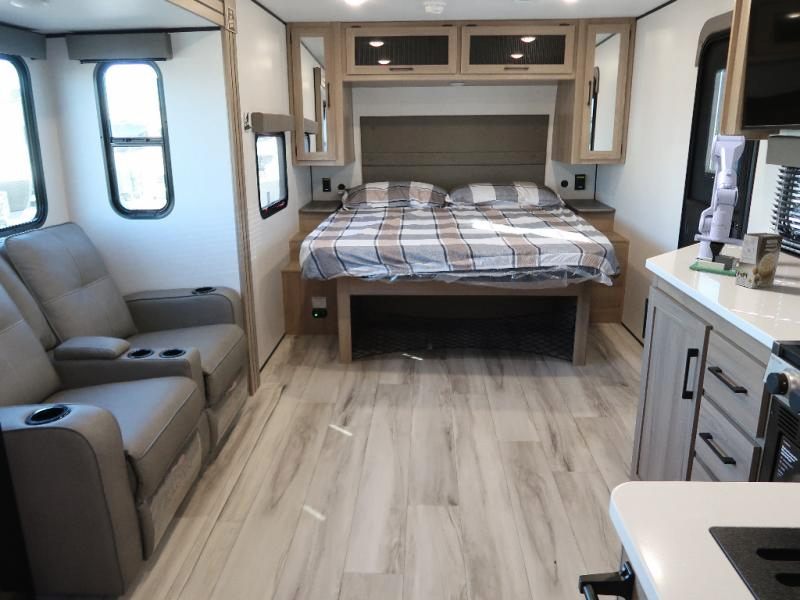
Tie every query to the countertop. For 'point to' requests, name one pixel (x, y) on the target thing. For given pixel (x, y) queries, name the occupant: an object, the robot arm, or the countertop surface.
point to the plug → (725, 261)
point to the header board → (714, 267)
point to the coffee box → (758, 260)
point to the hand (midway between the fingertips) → (714, 263)
